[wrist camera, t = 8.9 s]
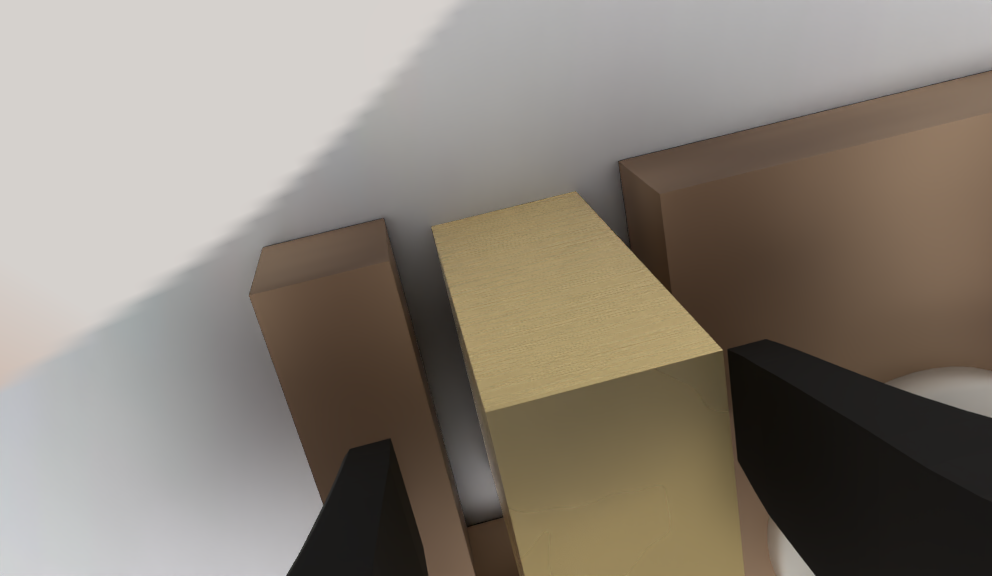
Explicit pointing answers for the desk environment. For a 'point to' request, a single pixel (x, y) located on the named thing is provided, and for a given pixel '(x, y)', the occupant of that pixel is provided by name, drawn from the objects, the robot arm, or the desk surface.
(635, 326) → the brass tab
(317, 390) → the notched board
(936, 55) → the desk surface
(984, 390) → the bobbin
